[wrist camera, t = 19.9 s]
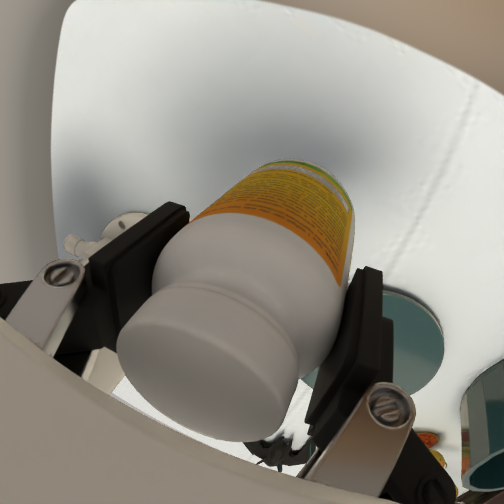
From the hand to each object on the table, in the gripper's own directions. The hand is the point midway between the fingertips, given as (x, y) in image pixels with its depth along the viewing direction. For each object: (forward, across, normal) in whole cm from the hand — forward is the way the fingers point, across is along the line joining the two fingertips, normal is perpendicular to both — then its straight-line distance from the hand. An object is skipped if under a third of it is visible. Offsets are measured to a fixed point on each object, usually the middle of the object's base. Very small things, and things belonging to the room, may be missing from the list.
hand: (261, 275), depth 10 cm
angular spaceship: (+14, -7, +38) cm, 42 cm away
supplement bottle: (+5, 0, 0) cm, 5 cm away
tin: (+14, -29, +14) cm, 35 cm away
